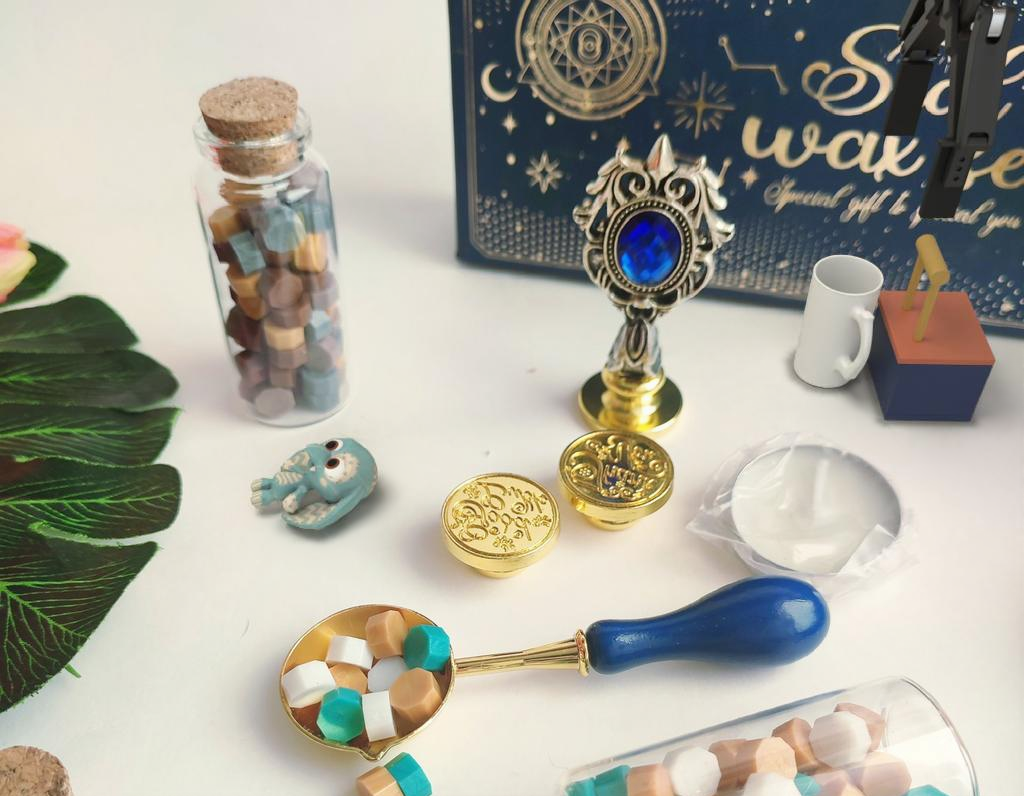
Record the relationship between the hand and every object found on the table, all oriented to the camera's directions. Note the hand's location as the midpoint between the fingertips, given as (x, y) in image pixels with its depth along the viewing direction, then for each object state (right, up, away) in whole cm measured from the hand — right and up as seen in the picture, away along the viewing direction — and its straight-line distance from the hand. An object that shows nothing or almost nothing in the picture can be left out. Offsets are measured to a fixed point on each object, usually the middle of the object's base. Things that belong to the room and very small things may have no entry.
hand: (915, 173), depth 92 cm
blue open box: (+7, -16, +20) cm, 27 cm away
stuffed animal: (-53, -28, +9) cm, 61 cm away
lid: (+7, -11, +15) cm, 20 cm away
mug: (-1, -15, +21) cm, 26 cm away
